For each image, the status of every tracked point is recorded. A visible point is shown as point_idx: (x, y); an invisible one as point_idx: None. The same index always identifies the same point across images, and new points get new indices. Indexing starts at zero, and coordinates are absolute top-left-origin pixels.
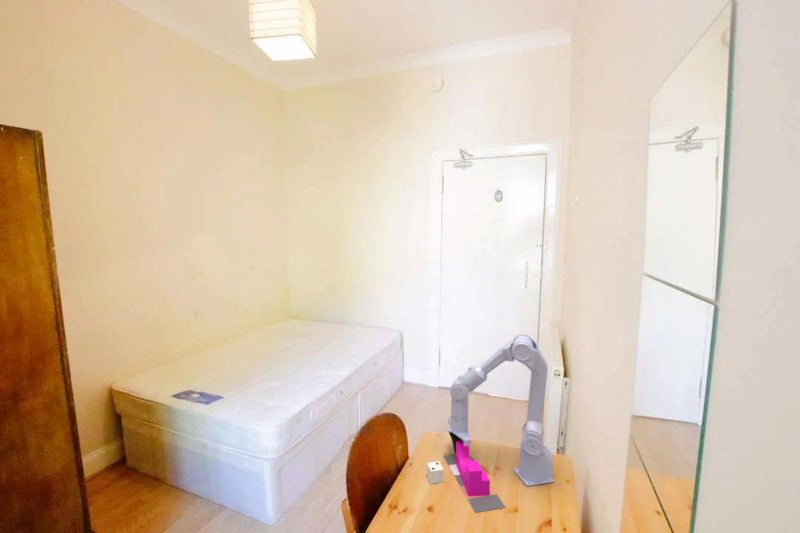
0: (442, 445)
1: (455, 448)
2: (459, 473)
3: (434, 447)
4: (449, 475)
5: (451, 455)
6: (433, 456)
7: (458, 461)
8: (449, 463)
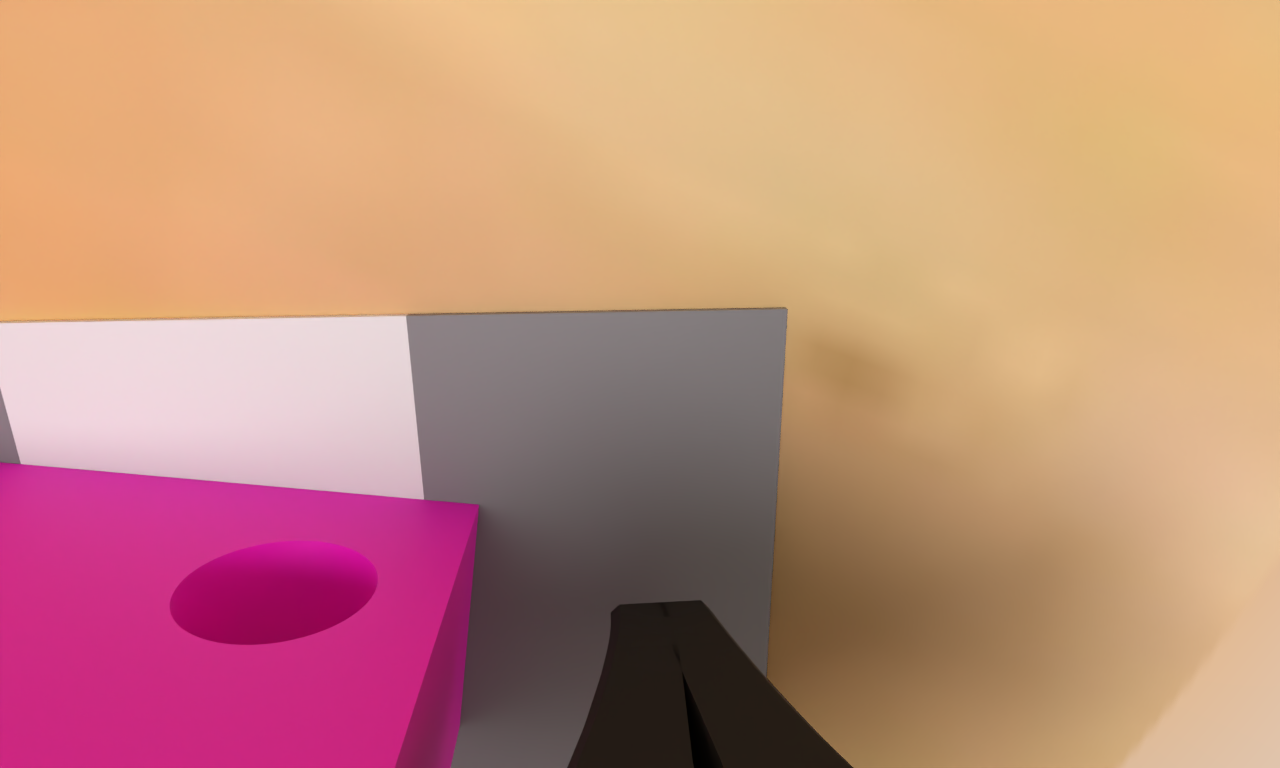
0: (1158, 420)
1: (576, 752)
2: (69, 465)
3: (1168, 200)
4: (4, 195)
5: (751, 499)
6: (842, 34)
7: (48, 603)
8: (473, 357)
